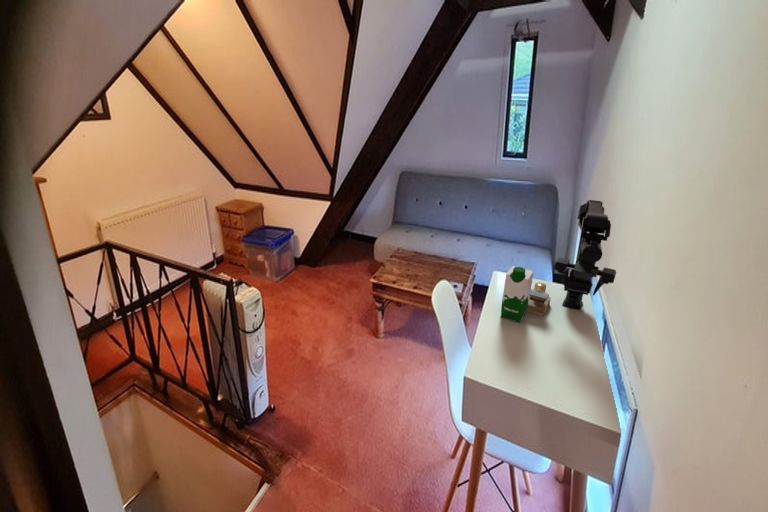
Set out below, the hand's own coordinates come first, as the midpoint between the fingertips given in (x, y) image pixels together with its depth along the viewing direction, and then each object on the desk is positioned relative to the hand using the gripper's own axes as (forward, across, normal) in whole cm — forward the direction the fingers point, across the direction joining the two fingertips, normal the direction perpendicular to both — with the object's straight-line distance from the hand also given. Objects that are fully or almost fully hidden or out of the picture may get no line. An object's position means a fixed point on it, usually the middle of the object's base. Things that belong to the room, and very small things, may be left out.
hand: (579, 291), depth 138 cm
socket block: (+12, -14, +2) cm, 18 cm away
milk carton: (+12, -19, -9) cm, 24 cm away
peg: (+12, -13, +3) cm, 18 cm away
